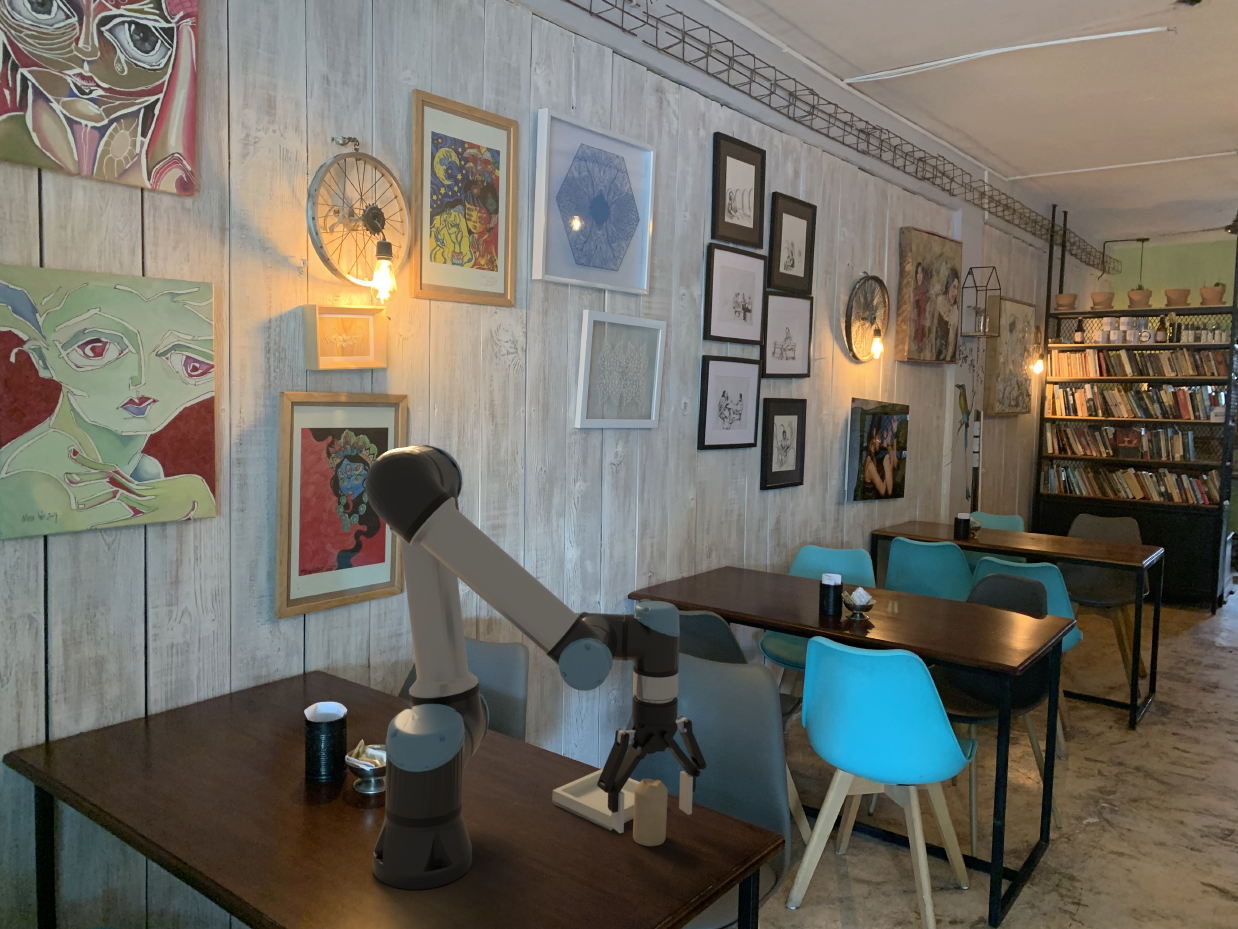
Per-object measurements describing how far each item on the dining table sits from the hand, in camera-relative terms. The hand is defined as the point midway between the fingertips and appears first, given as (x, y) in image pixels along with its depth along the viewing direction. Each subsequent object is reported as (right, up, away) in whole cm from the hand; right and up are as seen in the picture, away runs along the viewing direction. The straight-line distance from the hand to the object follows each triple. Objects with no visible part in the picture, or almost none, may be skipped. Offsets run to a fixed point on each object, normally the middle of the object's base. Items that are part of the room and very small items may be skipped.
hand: (652, 820), depth 148 cm
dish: (-8, -2, +12) cm, 15 cm away
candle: (-1, -3, 0) cm, 3 cm away
